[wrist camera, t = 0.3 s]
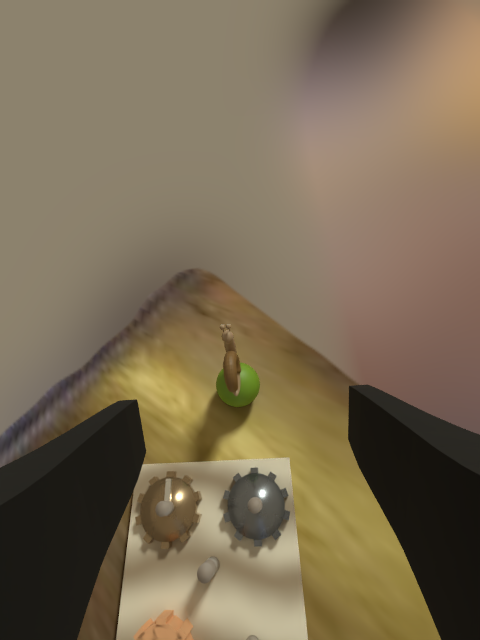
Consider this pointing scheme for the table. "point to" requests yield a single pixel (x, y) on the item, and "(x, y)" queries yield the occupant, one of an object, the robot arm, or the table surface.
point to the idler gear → (165, 628)
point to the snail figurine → (236, 376)
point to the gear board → (215, 563)
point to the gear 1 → (181, 516)
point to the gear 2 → (270, 513)
